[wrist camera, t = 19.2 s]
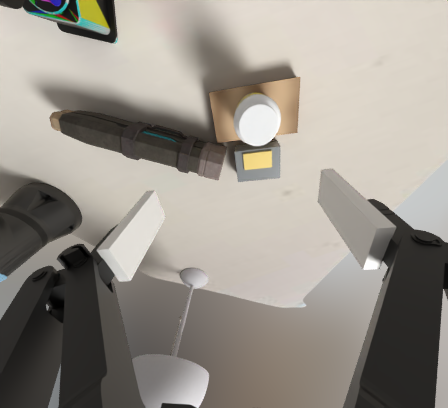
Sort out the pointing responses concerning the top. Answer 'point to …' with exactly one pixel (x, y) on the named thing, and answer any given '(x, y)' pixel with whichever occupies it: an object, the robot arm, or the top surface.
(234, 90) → the board
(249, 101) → the pill bottle
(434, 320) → the robot arm
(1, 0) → the colourful clamp stand
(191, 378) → the lamp
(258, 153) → the block
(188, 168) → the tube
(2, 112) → the top surface
